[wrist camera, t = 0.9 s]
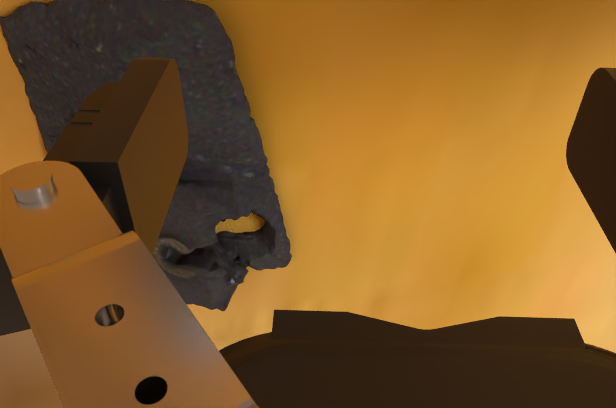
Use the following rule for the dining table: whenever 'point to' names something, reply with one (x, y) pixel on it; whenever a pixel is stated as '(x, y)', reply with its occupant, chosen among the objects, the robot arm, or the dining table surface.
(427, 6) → the dining table surface
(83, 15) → the dark slate chunk
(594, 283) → the dining table surface
